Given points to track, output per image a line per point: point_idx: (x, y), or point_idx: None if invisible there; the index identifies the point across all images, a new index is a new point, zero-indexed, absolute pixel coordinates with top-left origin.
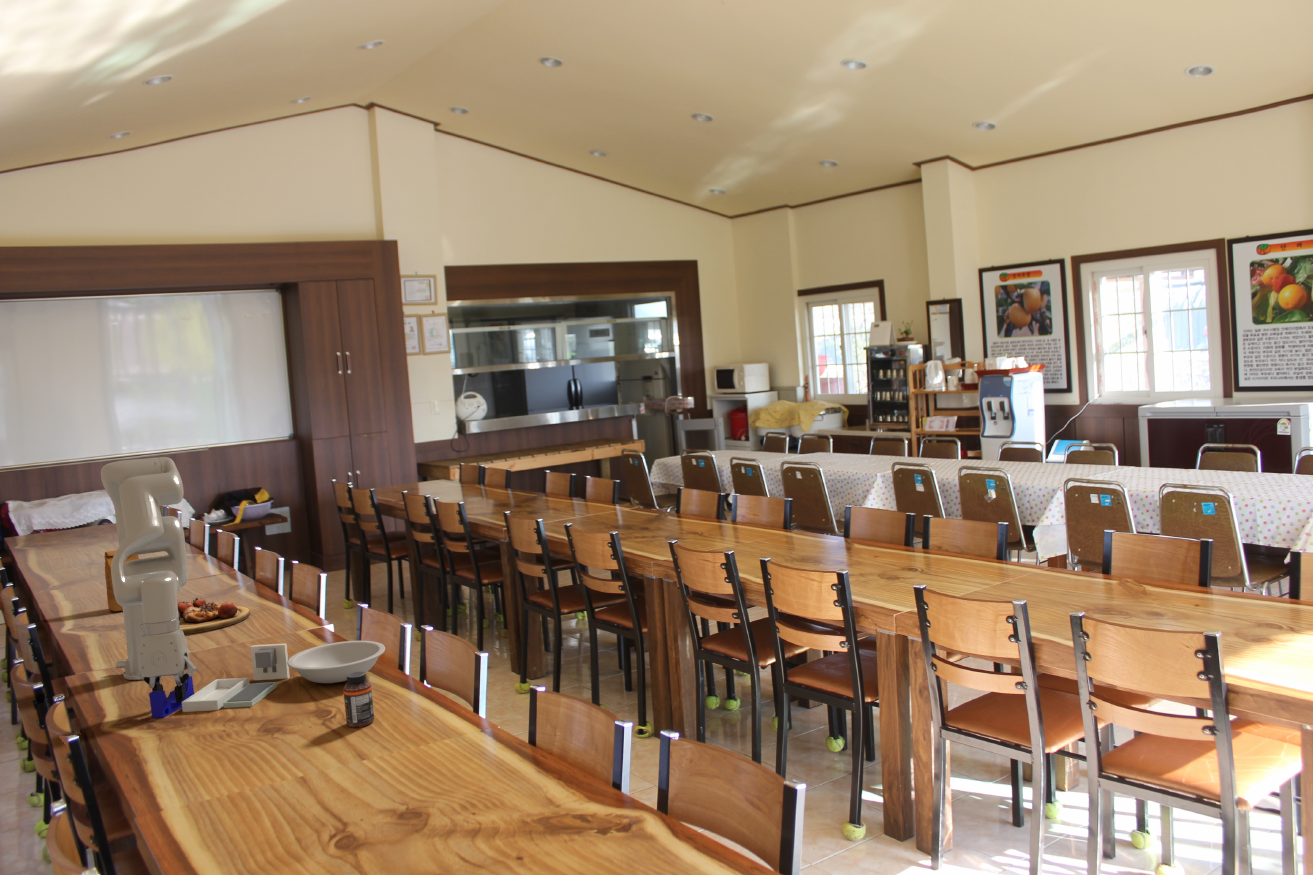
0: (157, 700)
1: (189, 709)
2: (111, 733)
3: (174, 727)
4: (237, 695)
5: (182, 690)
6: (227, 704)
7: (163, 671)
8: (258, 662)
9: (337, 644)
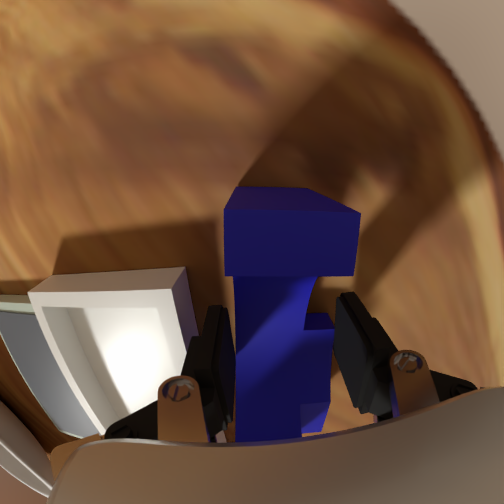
0: (269, 199)
1: (148, 272)
2: (373, 16)
3: (97, 71)
4: (53, 366)
5: (186, 365)
6: None
7: (276, 486)
8: None
9: (44, 492)
